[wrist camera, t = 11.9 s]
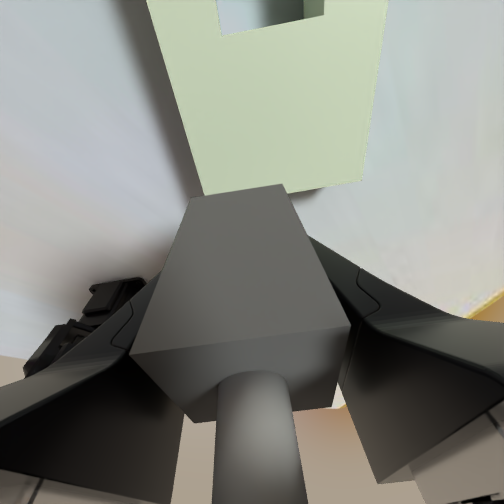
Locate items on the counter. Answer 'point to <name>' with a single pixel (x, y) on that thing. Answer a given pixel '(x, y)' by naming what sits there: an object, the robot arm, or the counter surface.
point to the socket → (274, 92)
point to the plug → (245, 337)
